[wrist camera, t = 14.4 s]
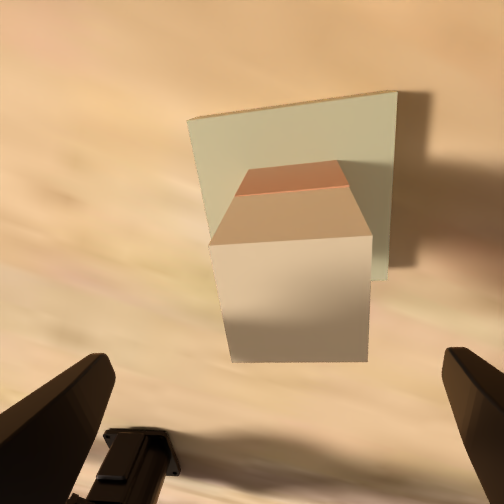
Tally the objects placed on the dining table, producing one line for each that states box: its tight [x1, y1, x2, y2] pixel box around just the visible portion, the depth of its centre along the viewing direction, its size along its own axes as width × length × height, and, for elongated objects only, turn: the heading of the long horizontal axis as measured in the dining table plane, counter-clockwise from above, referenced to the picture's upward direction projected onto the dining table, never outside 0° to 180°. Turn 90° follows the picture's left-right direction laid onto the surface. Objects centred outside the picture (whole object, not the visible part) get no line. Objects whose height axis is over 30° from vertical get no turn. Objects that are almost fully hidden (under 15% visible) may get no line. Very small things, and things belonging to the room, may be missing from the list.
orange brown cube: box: [234, 160, 349, 197], centre depth 16 cm, size 4×4×4 cm
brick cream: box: [208, 187, 373, 363], centre depth 12 cm, size 4×4×4 cm
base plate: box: [187, 91, 398, 281], centre depth 19 cm, size 10×10×2 cm
